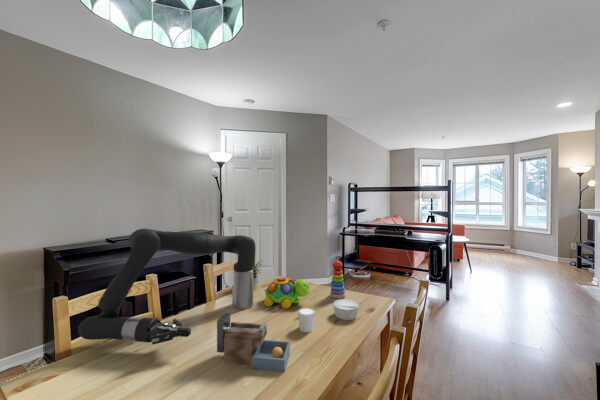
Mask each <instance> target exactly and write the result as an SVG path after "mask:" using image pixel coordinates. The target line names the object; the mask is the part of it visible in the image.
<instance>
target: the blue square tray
mask: <svg viewBox="0 0 600 400" xmlns="http://www.w3.org/2000/svg"><path fill="white" fill-rule="evenodd" d="M275 347H280V348H281V349H282V351H283V355H282V357H281V358H273V356H272V350H273V349H274V348H275ZM290 353H291V341H286V340H271V339H270V340H268V339H264V341H263V343H262V345H258V346H257V348H256V350H255V352H254V354H253V356H252V365H251V369H252V370H260V371H263V370H264V371H277V372H286V367H287V365H288V361H289V356H290Z"/></svg>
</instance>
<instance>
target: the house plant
mask: <svg viewBox="0 0 600 400" xmlns="http://www.w3.org/2000/svg"><path fill="white" fill-rule="evenodd" d="M263 261H264V260H260V261H258V262H257V263H256V262H255V263H254V266H253V290H255V289H256V288H257V284H258V277H259V275H260V274H261V271H260V270H261V269H262V267H261V268H260V266H261V265H262V263H261V262H263ZM257 275H258V276H257Z"/></svg>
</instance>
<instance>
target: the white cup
mask: <svg viewBox="0 0 600 400" xmlns="http://www.w3.org/2000/svg"><path fill="white" fill-rule="evenodd" d="M315 314H316V310H315V309H313V308H310V307H303V308H299V309H298V310H297V315H298V318H297V319H298V329H299V330H300V332H302V333H311V332H313V331H314V328H315V327H314V326H315V318H316V315H315Z"/></svg>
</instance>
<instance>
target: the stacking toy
mask: <svg viewBox="0 0 600 400" xmlns="http://www.w3.org/2000/svg"><path fill="white" fill-rule="evenodd" d="M332 267H333V270H332V278H331V285H330V292H329V296H330V297H331V298H334V299H344V298H345V296H346V289H345V282H344V274H343V270H342V269H343V263H342V261H340V260H335V261H334V262H332Z"/></svg>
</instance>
